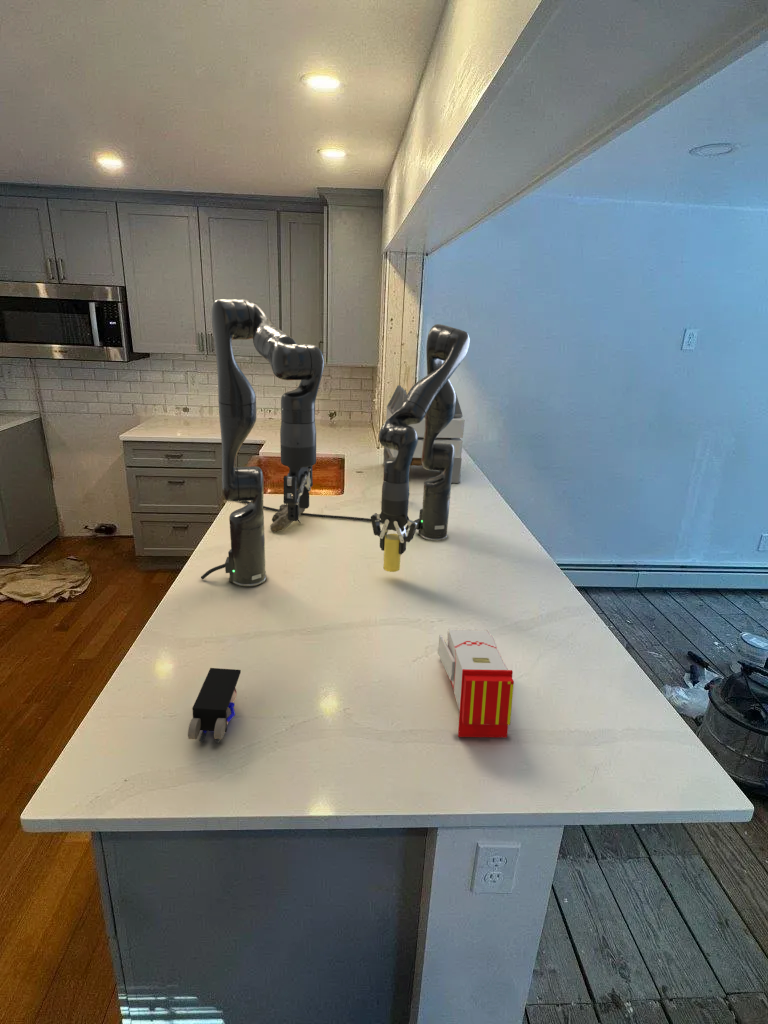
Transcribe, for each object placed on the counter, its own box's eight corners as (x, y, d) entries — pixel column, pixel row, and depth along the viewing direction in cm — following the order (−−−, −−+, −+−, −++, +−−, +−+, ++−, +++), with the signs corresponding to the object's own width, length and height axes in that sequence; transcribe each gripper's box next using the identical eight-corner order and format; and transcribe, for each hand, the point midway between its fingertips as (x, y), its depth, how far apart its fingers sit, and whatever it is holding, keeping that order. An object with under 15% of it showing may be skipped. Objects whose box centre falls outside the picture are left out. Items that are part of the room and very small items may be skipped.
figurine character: (226, 757, 100) (244, 694, 114) (223, 726, 97) (241, 665, 110) (188, 756, 100) (210, 694, 114) (183, 725, 97) (207, 664, 110)
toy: (488, 613, 130) (523, 677, 101) (484, 667, 133) (517, 744, 104) (435, 612, 130) (455, 676, 101) (432, 666, 133) (451, 743, 103)
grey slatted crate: (382, 463, 289) (386, 382, 275) (445, 464, 293) (451, 384, 279) (390, 482, 257) (394, 392, 243) (460, 483, 261) (468, 394, 247)
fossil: (276, 500, 214) (305, 479, 209) (292, 519, 217) (322, 499, 212) (259, 527, 195) (291, 505, 190) (277, 547, 198) (310, 526, 193)
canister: (400, 572, 163) (401, 540, 159) (383, 571, 162) (384, 539, 159) (399, 564, 167) (401, 533, 164) (383, 564, 167) (384, 533, 163)
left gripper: (306, 451, 113) (306, 526, 118) (323, 436, 126) (323, 505, 132) (270, 448, 114) (272, 523, 119) (291, 434, 127) (291, 502, 133)
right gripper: (366, 495, 156) (364, 551, 162) (414, 504, 151) (411, 561, 157) (377, 487, 163) (375, 542, 169) (424, 496, 158) (420, 551, 164)
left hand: (299, 513), depth 125 cm, fingers open, 8 cm apart
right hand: (392, 551), depth 163 cm, fingers closed on canister, 5 cm apart
